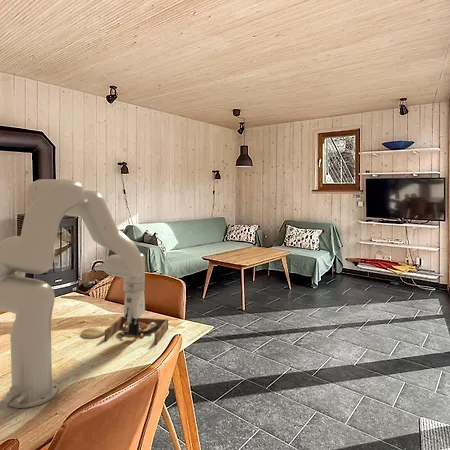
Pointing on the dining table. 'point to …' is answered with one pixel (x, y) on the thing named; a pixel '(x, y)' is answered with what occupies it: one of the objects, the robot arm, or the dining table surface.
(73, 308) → the dining table surface
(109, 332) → the walnut tray
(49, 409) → the dining table surface
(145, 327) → the bull figurine
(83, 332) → the oak coaster
